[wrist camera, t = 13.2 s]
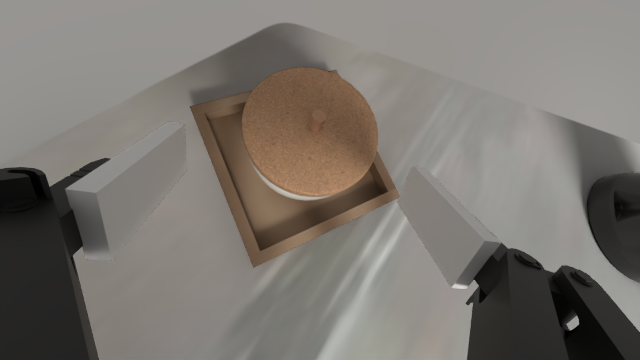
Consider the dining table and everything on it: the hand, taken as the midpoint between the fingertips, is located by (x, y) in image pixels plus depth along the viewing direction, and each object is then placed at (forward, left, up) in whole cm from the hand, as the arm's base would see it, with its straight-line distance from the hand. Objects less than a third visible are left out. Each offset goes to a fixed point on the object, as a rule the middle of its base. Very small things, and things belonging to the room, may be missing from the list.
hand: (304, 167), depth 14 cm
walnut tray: (-3, -4, -12) cm, 12 cm away
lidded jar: (-3, -4, -11) cm, 12 cm away
